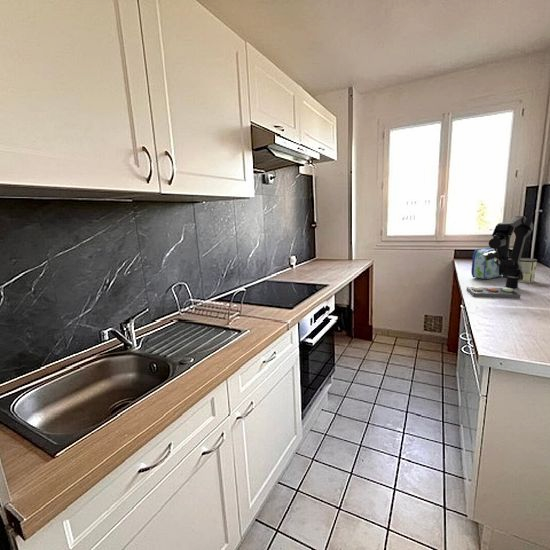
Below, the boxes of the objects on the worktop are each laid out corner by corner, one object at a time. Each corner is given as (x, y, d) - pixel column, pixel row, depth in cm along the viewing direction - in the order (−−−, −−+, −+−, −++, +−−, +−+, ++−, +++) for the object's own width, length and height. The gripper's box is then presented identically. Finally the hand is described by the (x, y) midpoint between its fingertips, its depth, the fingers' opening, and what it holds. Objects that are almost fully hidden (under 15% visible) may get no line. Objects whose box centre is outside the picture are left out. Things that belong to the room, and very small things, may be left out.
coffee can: (513, 278, 206) (515, 257, 203) (532, 279, 201) (535, 258, 198) (514, 281, 198) (517, 259, 195) (535, 283, 192) (538, 260, 189)
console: (466, 291, 178) (466, 286, 178) (509, 293, 172) (509, 288, 171) (473, 298, 165) (473, 293, 165) (520, 300, 159) (520, 294, 158)
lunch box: (489, 273, 223) (492, 244, 218) (506, 276, 213) (510, 246, 209) (468, 278, 211) (470, 248, 207) (484, 281, 202) (488, 249, 197)
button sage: (500, 293, 169) (501, 287, 168) (510, 293, 168) (510, 287, 167) (503, 295, 165) (504, 289, 164) (513, 295, 163) (514, 289, 163)
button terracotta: (485, 292, 171) (486, 287, 170) (495, 292, 170) (495, 287, 169) (488, 294, 167) (489, 288, 166) (498, 295, 166) (498, 289, 165)
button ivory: (471, 292, 173) (471, 286, 173) (480, 292, 172) (481, 286, 171) (473, 294, 169) (474, 288, 169) (482, 294, 168) (483, 288, 167)
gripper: (480, 244, 178) (478, 271, 181) (490, 249, 161) (487, 278, 164) (503, 244, 174) (500, 271, 177) (516, 249, 157) (513, 278, 160)
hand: (499, 274), depth 170 cm, fingers closed
